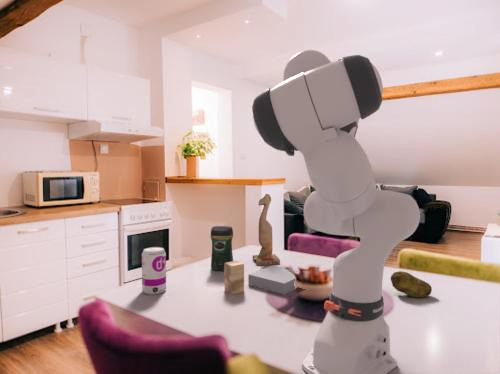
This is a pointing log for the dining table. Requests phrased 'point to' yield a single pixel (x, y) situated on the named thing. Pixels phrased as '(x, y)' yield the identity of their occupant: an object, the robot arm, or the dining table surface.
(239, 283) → the oak block
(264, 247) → the bird sculpture
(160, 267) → the supplement can
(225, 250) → the coffee jar
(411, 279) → the potato
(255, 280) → the grey stand
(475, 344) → the dining table surface
